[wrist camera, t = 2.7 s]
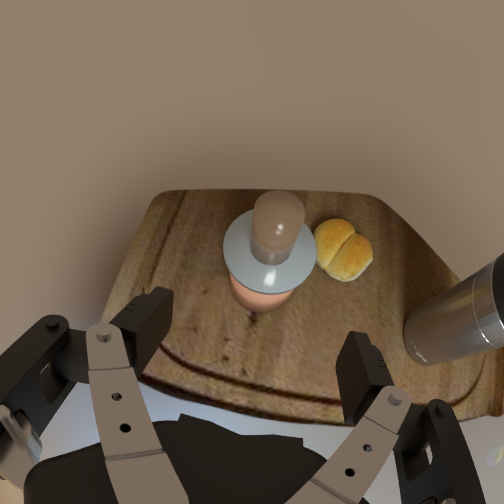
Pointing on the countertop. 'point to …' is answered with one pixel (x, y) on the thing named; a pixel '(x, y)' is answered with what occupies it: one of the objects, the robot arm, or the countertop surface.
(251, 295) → the canister
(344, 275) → the bread roll
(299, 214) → the lid
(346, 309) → the countertop surface
